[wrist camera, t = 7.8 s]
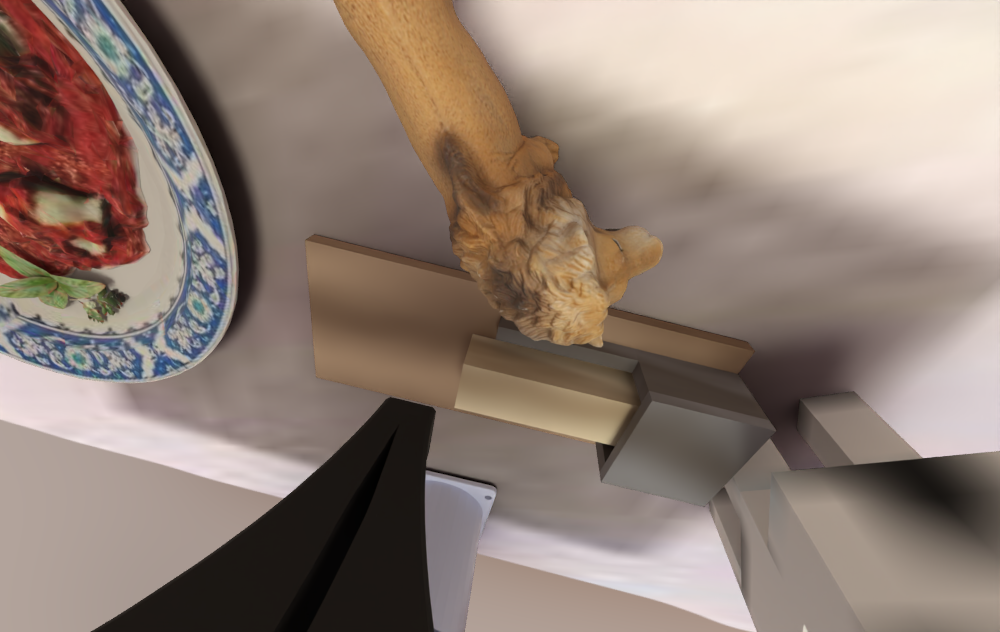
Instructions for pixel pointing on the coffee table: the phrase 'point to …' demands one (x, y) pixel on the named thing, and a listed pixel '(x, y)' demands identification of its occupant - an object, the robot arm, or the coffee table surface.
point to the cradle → (465, 311)
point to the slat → (546, 390)
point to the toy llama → (863, 531)
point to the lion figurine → (496, 177)
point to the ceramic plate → (105, 202)
